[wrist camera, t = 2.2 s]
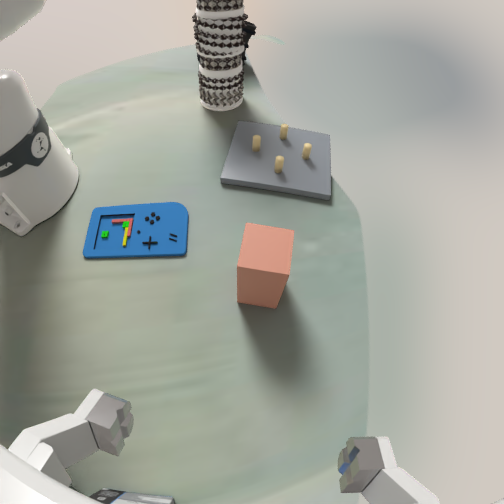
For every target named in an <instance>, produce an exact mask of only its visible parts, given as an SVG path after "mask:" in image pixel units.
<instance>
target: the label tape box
mask: <svg viewBox="0 0 504 504" xmlns="http://www.w3.org/2000/svg"><path fill="white" fill-rule="evenodd" d="M89 497H90V498H92V499H94V500H96V501H98V502H101V503H103V504H174V499H173V497H167V496H155V495H145V494H137V493H129V492H123V491H116V490H111V489H105V488H103V489H101V490H100V491H98V492H96V493H95V494H93V495H91V496H89Z"/></svg>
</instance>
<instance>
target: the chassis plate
mask: <svg viewBox="0 0 504 504" xmlns="http://www.w3.org/2000/svg"><path fill="white" fill-rule="evenodd" d="M220 179H221V183H224V184H231V185H239V186H246V187H252V188H259V189H265V190H272V191H278V192H284V193H290V194H296V195H302V196H307V197H313V198H318V199H324V200H329V199H330V196H331V160H330V135H328V134H323V133H318V132H312V131H307V130H301V129H296V128H290V127H288V125H287V124H282V125H281V126H277V125H270V124H263V123H256V122H248V121H238V124H237V127H236V130H235V133H234V136H233V139H232V143H231V146H230V149H229V152H228V155H227V158H226V161H225V165H224V168H223V171H222V174H221V177H220Z"/></svg>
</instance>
